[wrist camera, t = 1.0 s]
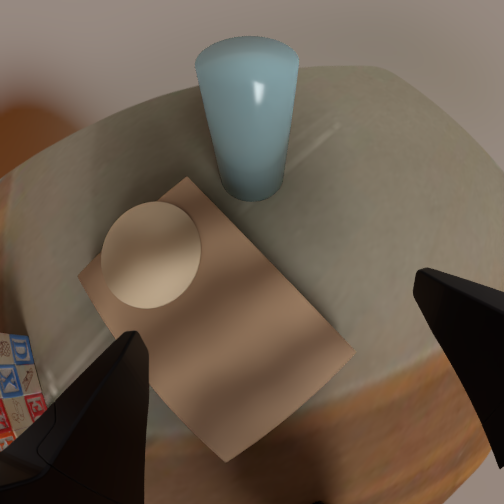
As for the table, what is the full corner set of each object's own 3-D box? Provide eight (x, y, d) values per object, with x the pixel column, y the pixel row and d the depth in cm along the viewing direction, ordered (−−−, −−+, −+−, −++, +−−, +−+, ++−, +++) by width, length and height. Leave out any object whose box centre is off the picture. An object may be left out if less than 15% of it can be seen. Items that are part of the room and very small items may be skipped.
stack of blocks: (2, 343, 20) (-77, 333, 8) (29, 334, 20) (-61, 321, 8) (65, 506, 14) (8, 542, 2) (102, 513, 14) (44, 563, 3)
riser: (343, 349, 20) (358, 352, 16) (230, 447, 18) (225, 464, 14) (188, 186, 24) (179, 167, 21) (91, 274, 22) (70, 265, 19)
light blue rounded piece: (296, 175, 24) (319, 62, 12) (249, 214, 23) (241, 102, 11) (253, 140, 25) (250, 28, 13) (208, 173, 24) (175, 62, 12)
